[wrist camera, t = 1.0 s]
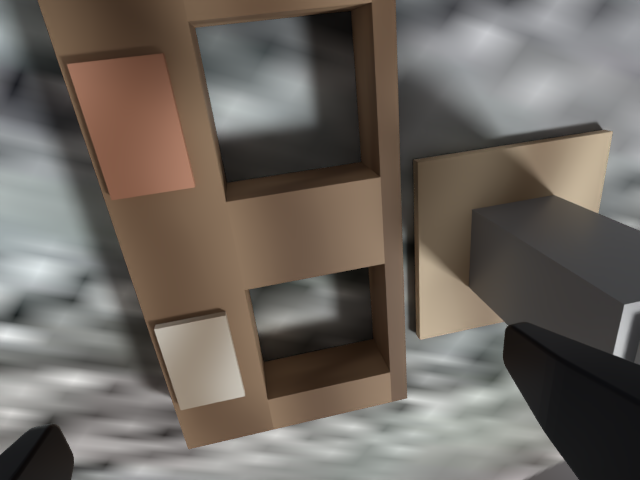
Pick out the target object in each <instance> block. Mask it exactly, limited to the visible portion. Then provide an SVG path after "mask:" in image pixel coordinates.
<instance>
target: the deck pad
mask: <svg viewBox="0 0 640 480" xmlns="http://www.w3.org/2000/svg"><path fill="white" fill-rule="evenodd" d="M612 133H613V131H607V130H599V131H593V132H586V133H580V134H574V135H567V136H561V137H555V138H548V139H542V140H536V141H529V142H523V143H516V144H510V145H504V146H497V147H491V148H485V149H478V150H472V151H466V152H459V153H453V154H446V155H440V156H434V157H427V158H421V159H415V160H413V176H414V239H415V301H416V335H417V336H418V338H419V339H420V340H421V339H426V338H430V337H435V336H440V335H444V334H449V333H454V332H458V331H463V330H468V329H472V328H477V327H481V326H486V325H491V324H495V323H500V322H504V321H503V320H502V319H501V318H500V317H499V316H498V315H497V314H496V313H495V312H494V311H493V310H492V309H491V308H490V307H489V306H488V305H487V304H486V303H485V302H484V301H482V300H481V299H480V298H479V297H478V296H477V295H476V294H475V293H474V292H473V291H472V290H471V289H470V288H469V269H470V246H471V224H472V209H477V208H483V207H488V206H494V205H500V204H505V203H511V202H517V201H522V200H528V199H534V198H539V197H545V196H551V195H555V196H558V197H560V198H563V199H565V200H567V201H570V202H572V203H574V204H577V205H579V206H582V207H584V208H586V209H589V210H591V211H593V212H596V213H598V212H599V207H600V201H601V195H602V190H603V184H604V178H605V173H606V167H607V161H608V156H609V150H610V144H611V139H612Z"/></svg>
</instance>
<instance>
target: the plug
mask: <svg viewBox="0 0 640 480" xmlns="http://www.w3.org/2000/svg"><path fill="white" fill-rule="evenodd" d="M469 288H470V289H471V290H472V291H473V292H474V293H475V294H476V295H477V296H478V297H479V298H480V299H481V300H482V301H484V302H485V303H486V304H487V305H488V306H489V307H490V308H491V309H492V310H493V311H494V312H495V313H496V314H497V315H498V316H499V317H500V318H501V319H502V320H503V321H504V322H505V323H506V324H507V325H508V326H509V325H511V324H515V323H520V322H529V323H532V324H534V325H537V326H539V327H542V328H545V329H547V330H550V331H553V332H555V333H558V334H560V335H563V336H566V337H568V338H571V339H574V340H576V341H579V342H581V343H584V344H587V345H589V346H592V347H594V348H597V349H600V350H602V351H605V352H608V353H610V354H613V355H615V356H618V357H621V358H623V359H626V360H629V361H631V362H634V363H636V364H639V365H640V231H639V230H636V229H634V228H631V227H629V226H627V225H624V224H622V223H620V222H617V221H615V220H612V219H610V218H608V217H605V216H603V215H601V214H598V213H596V212H593V211H591V210H589V209H586V208H584V207H582V206H579V205H577V204H574V203H572V202H570V201H567V200H565V199H563V198H560V197H558V196H555V195H551V196H545V197H539V198H534V199H528V200H522V201H517V202H511V203H505V204H500V205H494V206H488V207H483V208H477V209H472V224H471V246H470V269H469Z"/></svg>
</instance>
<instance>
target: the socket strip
mask: <svg viewBox="0 0 640 480" xmlns="http://www.w3.org/2000/svg"><path fill="white" fill-rule="evenodd" d="M38 3H39V6H40V9H41V12H42V15H43V18H44V21H45V24H46V27H47V30H48V33H49V36H50V39H51V42H52V45H53V48H54V51H55V54H56V57H57V60H58V63H59V66H60V69H61V72H62V75H63V78H64V81H65V84H66V87H67V89H68V92H69V95H70V98H71V101H72V104H73V107H74V110H75V113H76V116H77V119H78V122H79V125H80V128H81V131H82V134H83V137H84V140H85V143H86V146H87V149H88V152H89V155H90V158H91V161H92V164H93V167H94V170H95V173H96V176H97V179H98V182H99V185H100V188H101V191H102V194H103V197H104V200H105V203H106V206H107V208H108V211H109V214H110V217H111V220H112V223H113V226H114V229H115V232H116V235H117V238H118V241H119V244H120V247H121V250H122V253H123V256H124V259H125V262H126V265H127V268H128V271H129V274H130V277H131V280H132V283H133V286H134V289H135V292H136V295H137V298H138V301H139V304H140V307H141V310H142V313H143V316H144V319H145V322H146V325H147V328H148V330H149V333H150V336H151V339H152V342H153V345H154V348H155V351H156V354H157V357H158V360H159V363H160V366H161V369H162V372H163V375H164V378H165V381H166V384H167V387H168V390H169V393H170V396H171V399H172V402H173V405H174V408H175V411H176V414H177V417H178V420H179V423H180V426H181V429H182V432H183V435H184V438H185V441H186V444H187V447H188V449H192V448H196V447H200V446H205V445H209V444H213V443H217V442H222V441H226V440H230V439H235V438H239V437H243V436H247V435H252V434H256V433H260V432H265V431H269V430H273V429H277V428H282V427H286V426H290V425H295V424H299V423H303V422H307V421H312V420H316V419H320V418H325V417H329V416H333V415H337V414H342V413H346V412H350V411H355V410H359V409H363V408H367V407H372V406H376V405H380V404H385V403H389V402H393V401H397V400H402V399H406V398H407V379H406V345H405V311H404V276H403V242H402V208H401V173H400V139H399V105H398V70H397V36H396V2H395V0H38ZM345 11H351V18H352V33H353V47H354V62H355V77H356V92H357V106H358V121H359V136H360V150H361V162H357V163H351V164H344V165H338V166H332V167H325V168H319V169H312V170H306V171H299V172H293V173H286V174H280V175H274V176H267V177H261V178H254V179H248V180H241V181H235V182H228V183H227V181H226V176H225V171H224V166H223V161H222V156H221V152H220V147H219V142H218V137H217V132H216V127H215V122H214V118H213V113H212V108H211V103H210V98H209V93H208V88H207V84H206V79H205V74H204V69H203V64H202V59H201V54H200V50H199V45H198V40H197V35H196V30H195V28H196V27H205V26H214V25H224V24H233V23H242V22H252V21H261V20H270V19H280V18H289V17H298V16H308V15H317V14H326V13H336V12H345ZM364 267H368V268H369V283H370V298H371V313H372V327H373V339H370V340H366V341H361V342H356V343H351V344H347V345H342V346H337V347H333V348H328V349H323V350H318V351H314V352H309V353H304V354H299V355H295V356H290V357H285V358H281V359H276V360H271V361H266V362H264V360H263V356H262V351H261V346H260V341H259V336H258V331H257V326H256V322H255V317H254V312H253V307H252V302H251V297H250V292H249V289H253V288H258V287H263V286H269V285H274V284H279V283H285V282H290V281H295V280H301V279H306V278H311V277H316V276H322V275H327V274H332V273H338V272H343V271H348V270H354V269H359V268H364Z"/></svg>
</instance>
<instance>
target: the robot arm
mask: <svg viewBox="0 0 640 480" xmlns="http://www.w3.org/2000/svg"><path fill="white" fill-rule="evenodd" d="M503 360H504V364H505V366H506V368H507V370H508V372H509V373H510V375H511V377H512V379H513V380H514V382H515V384H516V385H517V387H518V389H519V390H520V392H521V394H522V395H523V397H524V399H525V400H526V402H527V404H528V406H529V407H530V409H531V411H532V412H533V414H534V416H535V417H536V419H537V421H538V422H539V424H540V426H541V427H542V429H543V430H544V432H545V433H546V435H547V436H548V438H549V439H550V440H551V442H552V443H553V445H554V446H555V447H556V449H557V450H558V452H559V453H560V454H561V456H562V457H563V458H564V460H565V461H566V462H567V464H568V465H569V466H570V468H571V469H572V471H573V472H574V473H575V475H576V476H577V477H578V479H579V480H640V365H639V364H636V363H634V362H631V361H629V360H626V359H623V358H621V357H618V356H615V355H613V354H610V353H608V352H605V351H602V350H600V349H597V348H594V347H592V346H589V345H587V344H584V343H581V342H579V341H576V340H574V339H571V338H568V337H566V336H563V335H560V334H558V333H555V332H553V331H550V330H547V329H545V328H542V327H539V326H537V325H534V324H532V323H529V322H520V323H515V324H511V325H509V326H507V328H506V330H505V338H504V349H503ZM73 467H74V457H73V454H72V451H71V449H70V447H69V445H68V443H67V441H66V439H65V437H64V435H63V433H62V431H61V429H60V427H59V426H58V425H56V424H47V425H43V426H38V427H34V428H31V429H29V430H28V431H27V432H26V433H24V434H23V435H22V436H21V437H20V438H19V439H18V440H17V441H15V442H14V443H13V444H12V445H11V446H10V447H9V448H7V449H6V450H5V451H4V452H3V453H2V454H1V455H0V480H71V478H72V472H73Z"/></svg>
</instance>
